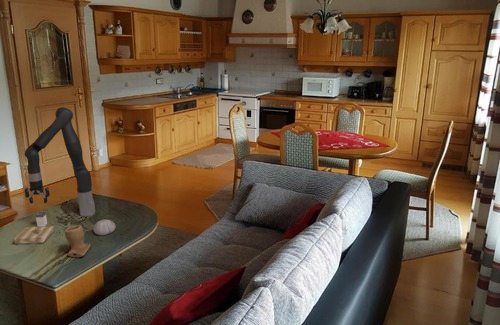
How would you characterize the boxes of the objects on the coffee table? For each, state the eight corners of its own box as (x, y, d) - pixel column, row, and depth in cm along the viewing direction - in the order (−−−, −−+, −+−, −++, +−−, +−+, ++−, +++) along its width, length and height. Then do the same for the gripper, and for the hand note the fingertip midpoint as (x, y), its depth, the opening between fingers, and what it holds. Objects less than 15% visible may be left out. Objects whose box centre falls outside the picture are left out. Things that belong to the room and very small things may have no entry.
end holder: (53, 232, 256) (53, 226, 255) (43, 244, 241) (42, 237, 240) (27, 233, 255) (26, 227, 254) (15, 244, 240) (14, 238, 239)
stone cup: (72, 246, 238) (68, 222, 234) (92, 245, 239) (89, 222, 235) (61, 259, 224) (58, 234, 219) (83, 258, 224) (80, 233, 220)
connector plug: (47, 223, 270) (45, 212, 267) (44, 226, 265) (42, 214, 263) (40, 223, 269) (38, 212, 267) (37, 226, 265) (35, 215, 263)
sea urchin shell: (92, 238, 249) (91, 225, 246) (94, 228, 261) (93, 217, 259) (115, 235, 252) (114, 223, 250) (116, 226, 265) (115, 215, 262)
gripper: (49, 177, 263) (52, 200, 267) (26, 177, 262) (30, 201, 266) (44, 180, 256) (47, 205, 260) (21, 181, 255) (24, 205, 259)
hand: (38, 203), depth 263 cm, fingers open, 8 cm apart
